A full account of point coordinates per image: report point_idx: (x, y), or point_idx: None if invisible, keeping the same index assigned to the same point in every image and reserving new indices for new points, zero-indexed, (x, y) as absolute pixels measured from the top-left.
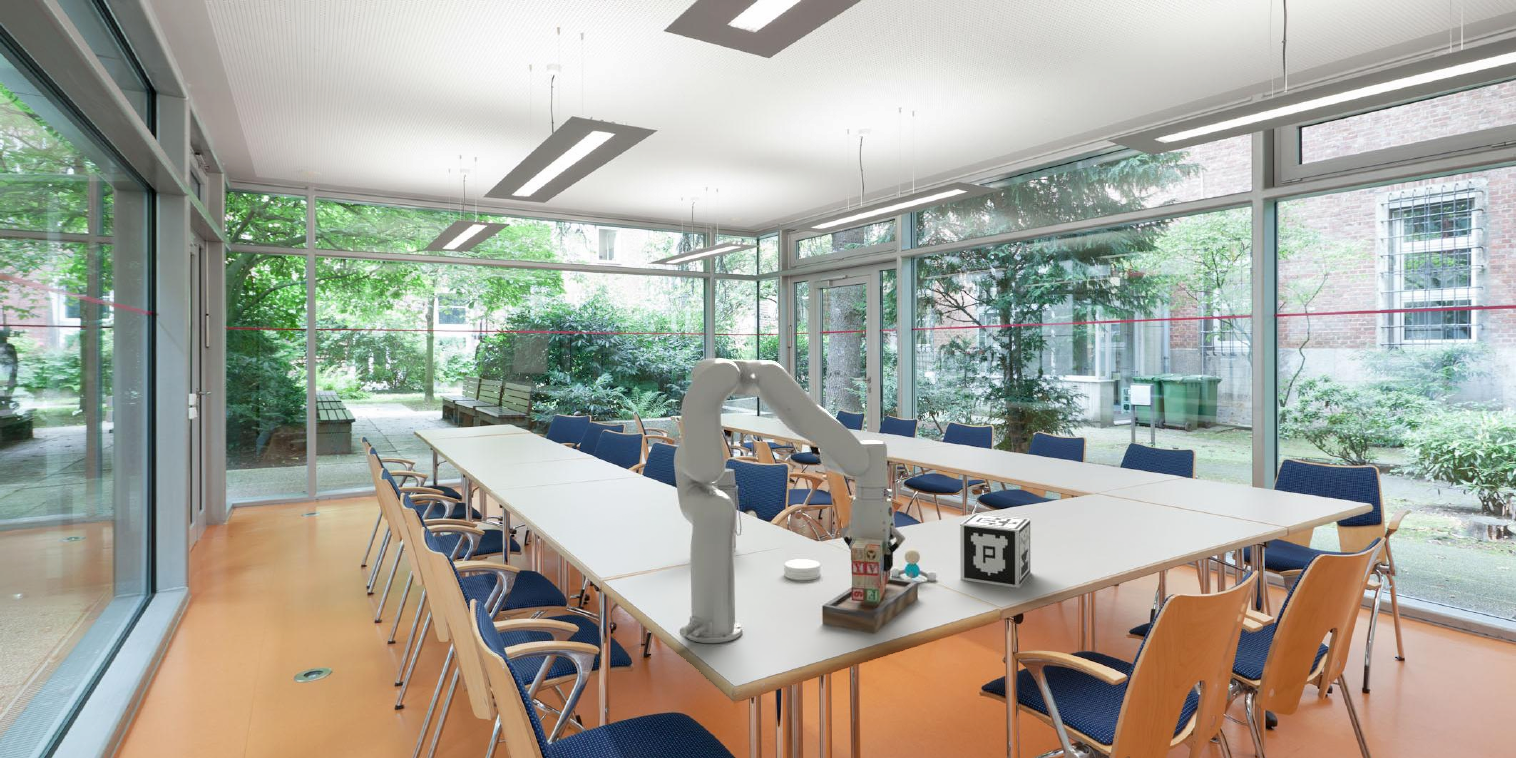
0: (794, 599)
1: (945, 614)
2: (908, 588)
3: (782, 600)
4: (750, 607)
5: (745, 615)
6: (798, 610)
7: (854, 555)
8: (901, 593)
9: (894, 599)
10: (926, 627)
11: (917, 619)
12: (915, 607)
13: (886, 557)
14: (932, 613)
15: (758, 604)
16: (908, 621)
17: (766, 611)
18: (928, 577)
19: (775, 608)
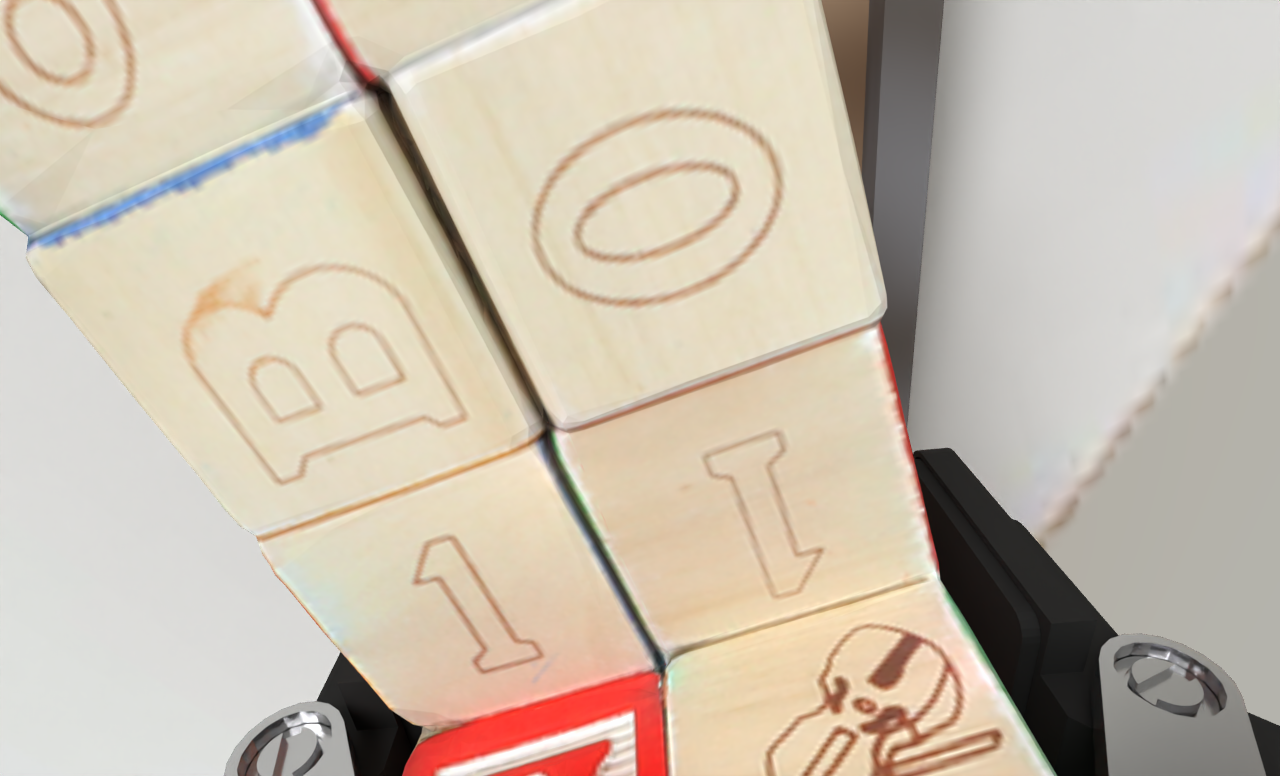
0: (83, 449)
1: (1228, 77)
2: (934, 20)
3: (50, 506)
4: (50, 683)
5: (152, 764)
6: (285, 587)
7: None
8: (915, 237)
9: (906, 416)
10: (1113, 413)
11: (1026, 315)
12: (946, 58)
13: None
14: (1116, 121)
15: (29, 630)
16: (975, 384)
17: (171, 682)
18: None
19: (160, 628)
